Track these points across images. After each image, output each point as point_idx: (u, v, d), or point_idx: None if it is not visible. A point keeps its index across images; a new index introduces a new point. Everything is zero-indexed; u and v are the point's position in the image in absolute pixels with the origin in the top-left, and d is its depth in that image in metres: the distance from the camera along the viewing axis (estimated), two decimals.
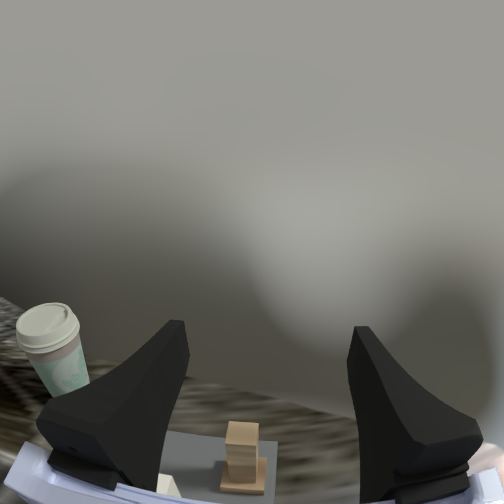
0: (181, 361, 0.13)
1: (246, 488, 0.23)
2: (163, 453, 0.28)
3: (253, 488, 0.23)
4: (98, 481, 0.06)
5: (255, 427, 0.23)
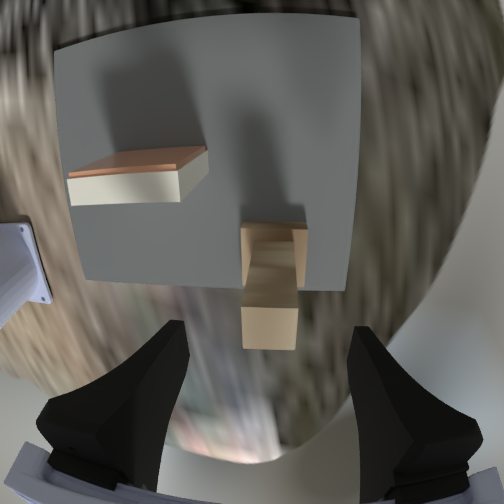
0: (181, 361, 0.13)
1: (243, 263, 0.20)
2: (304, 114, 0.17)
3: (244, 272, 0.21)
4: (98, 481, 0.06)
5: (284, 346, 0.14)
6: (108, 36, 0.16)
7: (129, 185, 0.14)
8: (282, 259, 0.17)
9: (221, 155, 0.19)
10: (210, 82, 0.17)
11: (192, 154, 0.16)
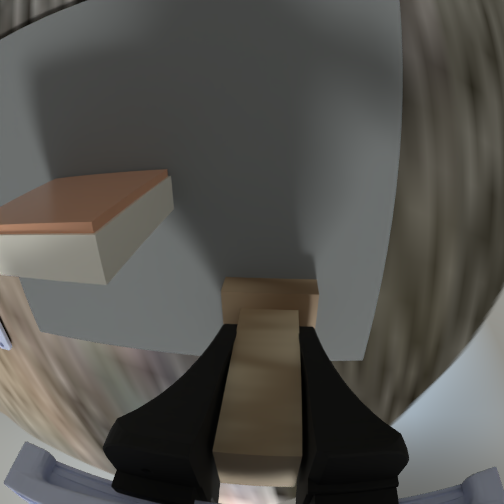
0: None
1: None
2: (317, 121, 0.11)
3: None
4: (177, 502, 0.06)
5: (280, 483, 0.08)
6: (41, 21, 0.09)
7: (33, 253, 0.08)
8: (280, 348, 0.11)
9: (190, 183, 0.13)
10: (172, 73, 0.11)
11: (136, 191, 0.10)
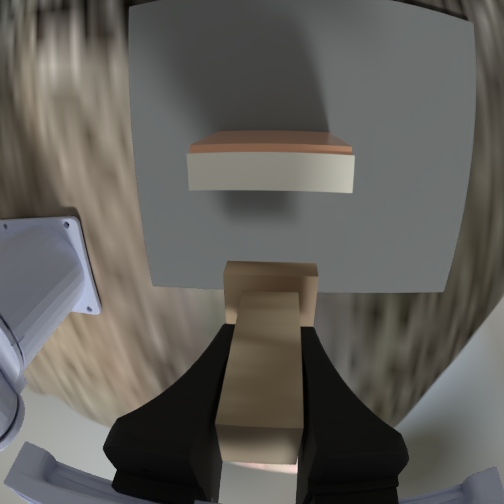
0: None
1: (228, 318, 0.15)
2: (429, 110, 0.15)
3: None
4: (177, 502, 0.06)
5: (281, 461, 0.09)
6: None
7: (287, 167, 0.11)
8: (281, 327, 0.12)
9: None
10: (336, 62, 0.14)
11: (338, 139, 0.13)
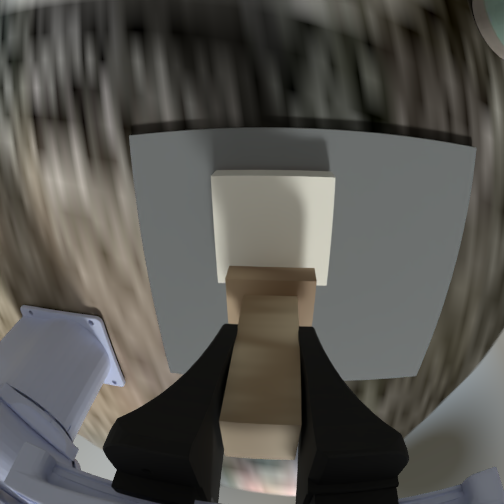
0: None
1: (230, 321, 0.15)
2: (416, 244, 0.18)
3: None
4: (177, 502, 0.06)
5: (281, 456, 0.09)
6: (208, 132, 0.16)
7: (285, 172, 0.16)
8: (280, 329, 0.12)
9: (335, 279, 0.19)
10: None
11: None
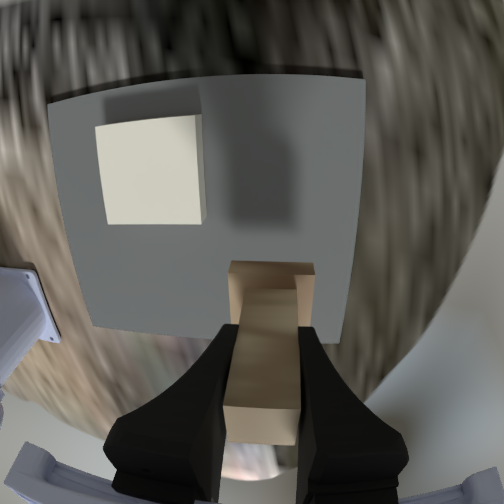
0: None
1: (232, 313, 0.16)
2: (304, 185, 0.18)
3: (233, 323, 0.16)
4: (177, 502, 0.06)
5: (281, 441, 0.10)
6: (102, 93, 0.16)
7: None
8: (281, 320, 0.13)
9: (221, 223, 0.20)
10: (209, 150, 0.18)
11: None
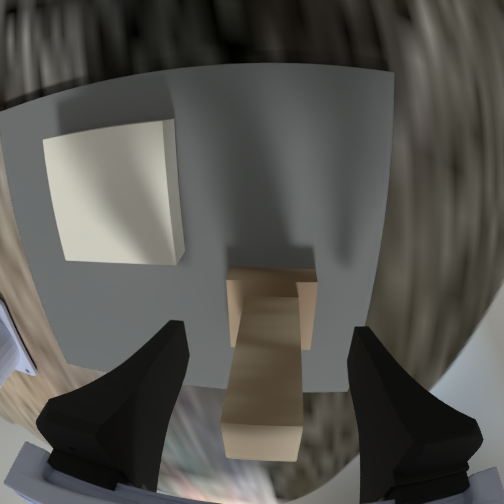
0: (181, 361, 0.13)
1: (231, 322, 0.15)
2: (312, 212, 0.14)
3: (232, 332, 0.16)
4: (98, 481, 0.06)
5: (282, 458, 0.09)
6: (55, 96, 0.12)
7: (117, 125, 0.12)
8: (282, 331, 0.12)
9: (204, 260, 0.15)
10: (186, 166, 0.13)
11: (178, 184, 0.14)
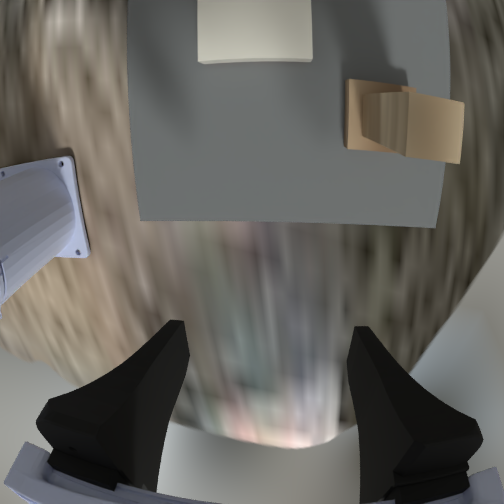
0: (181, 361, 0.13)
1: (350, 120, 0.16)
2: (403, 45, 0.15)
3: (350, 132, 0.16)
4: (98, 481, 0.06)
5: (450, 157, 0.10)
6: None
7: None
8: None
9: (324, 73, 0.16)
10: (313, 4, 0.14)
11: None
